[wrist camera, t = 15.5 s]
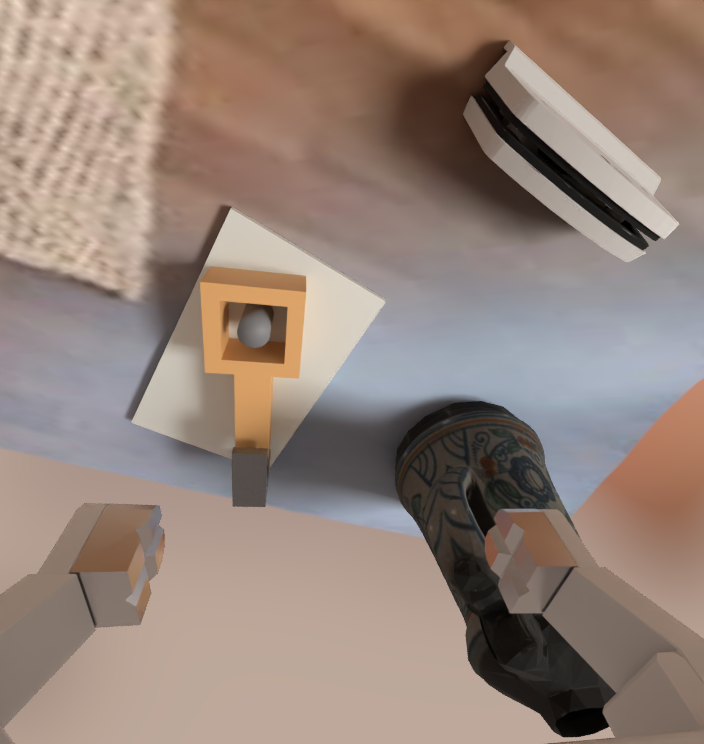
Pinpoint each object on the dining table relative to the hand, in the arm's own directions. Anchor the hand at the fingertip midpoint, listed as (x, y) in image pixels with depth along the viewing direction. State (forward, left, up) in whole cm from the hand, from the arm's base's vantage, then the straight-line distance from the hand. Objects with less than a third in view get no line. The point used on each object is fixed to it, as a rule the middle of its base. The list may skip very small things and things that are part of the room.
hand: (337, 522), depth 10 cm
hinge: (+12, +16, -28) cm, 34 cm away
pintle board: (0, -12, -27) cm, 30 cm away
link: (+1, -12, -26) cm, 29 cm away
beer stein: (+25, -12, -27) cm, 39 cm away
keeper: (+4, -20, -27) cm, 34 cm away
